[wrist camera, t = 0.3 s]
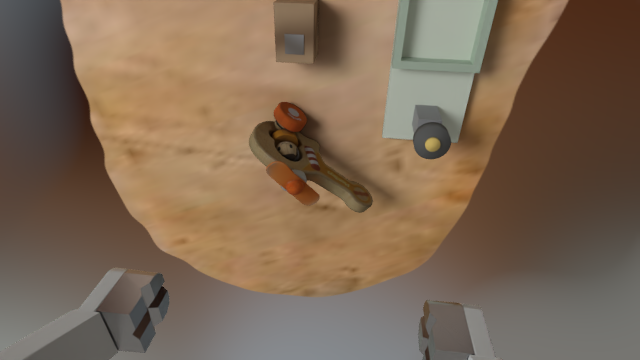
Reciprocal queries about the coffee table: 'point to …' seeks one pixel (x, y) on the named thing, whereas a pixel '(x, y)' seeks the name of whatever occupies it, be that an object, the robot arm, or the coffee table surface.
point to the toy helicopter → (301, 160)
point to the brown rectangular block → (296, 30)
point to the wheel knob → (431, 140)
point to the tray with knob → (435, 63)
